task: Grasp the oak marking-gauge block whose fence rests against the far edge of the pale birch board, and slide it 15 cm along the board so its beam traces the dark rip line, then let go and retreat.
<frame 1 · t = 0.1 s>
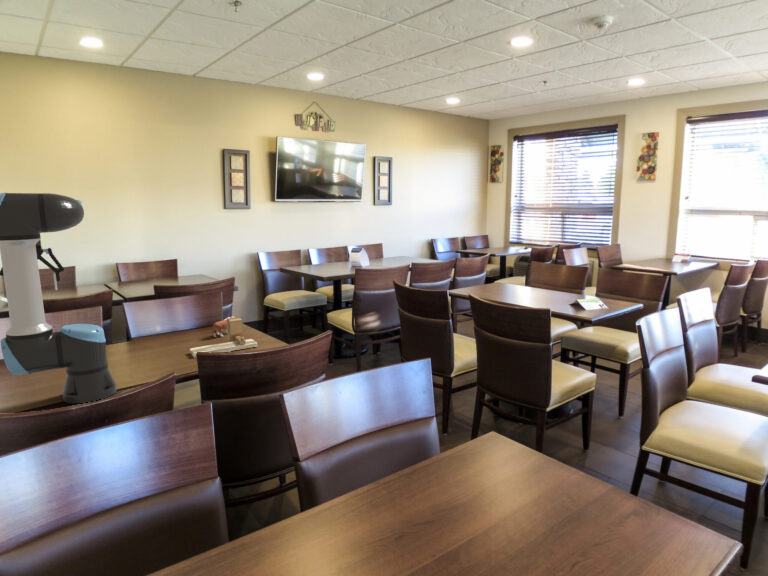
hand: (35, 291, 190), 28 cm above the table, fingers open, 13 cm apart
bull figurine: (225, 335, 232), on the table
board: (224, 350, 209), on the table
gauge: (235, 343, 218), on the table
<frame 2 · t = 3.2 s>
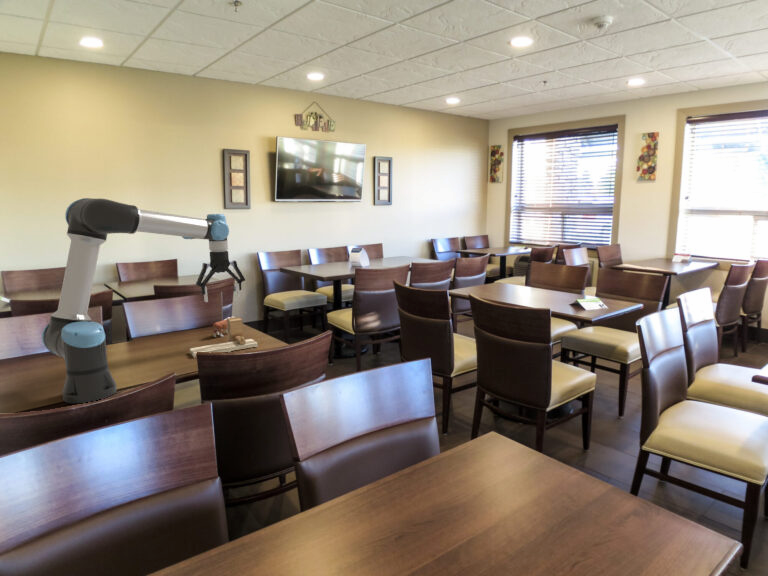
hand: (222, 299, 214), 20 cm above the table, fingers open, 13 cm apart
nothing on the table moved.
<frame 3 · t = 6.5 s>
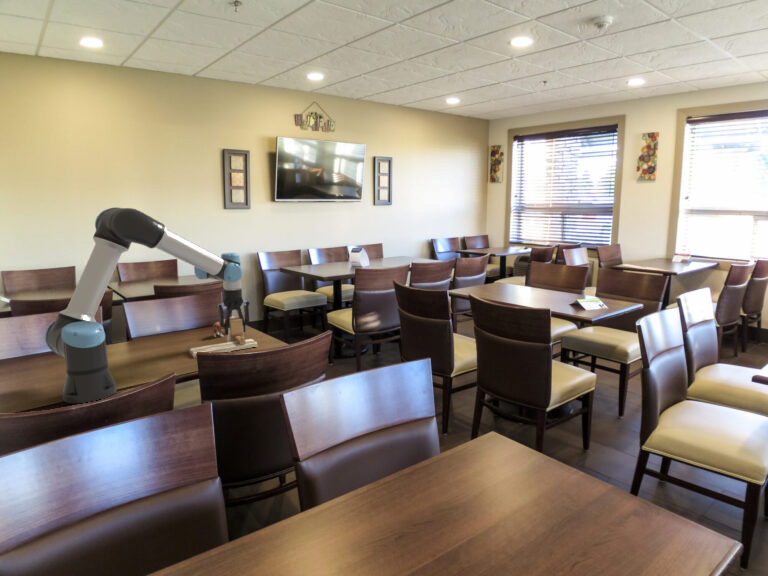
hand: (235, 340, 218), 1 cm above the table, fingers closed on gauge, 5 cm apart
gauge: (235, 343, 218), on the table, touching gripper
everything else where it was.
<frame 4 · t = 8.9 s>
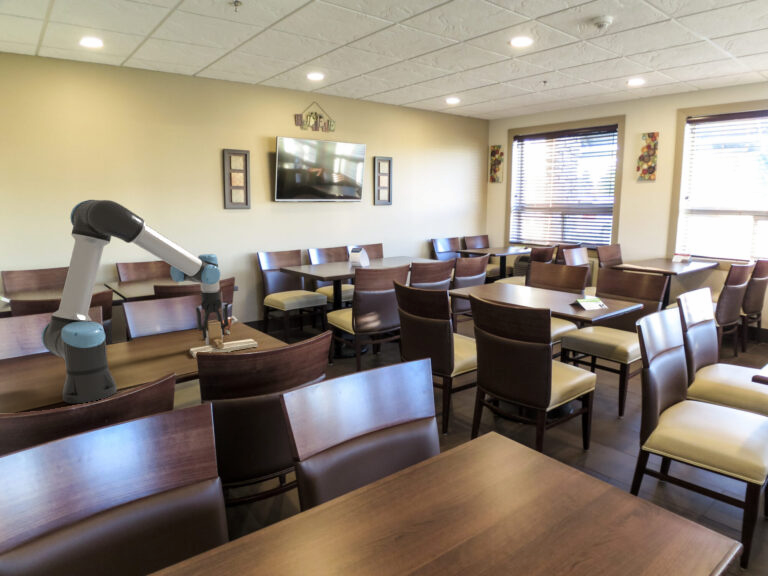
hand: (214, 343, 213), 1 cm above the table, fingers closed on gauge, 5 cm apart
gauge: (214, 346, 213), on the table, touching gripper
everything else where it was.
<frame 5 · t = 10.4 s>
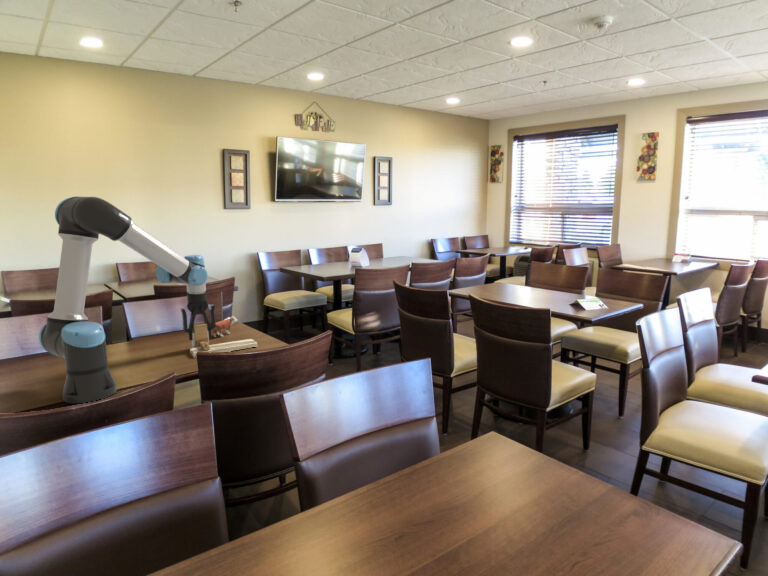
hand: (200, 345, 210), 1 cm above the table, fingers closed on gauge, 5 cm apart
gauge: (201, 348, 210), on the table, touching gripper
everything else where it was.
when the fingers open (1 cm above the table, at t = 11.3 s): gauge stays where it is, on the table.
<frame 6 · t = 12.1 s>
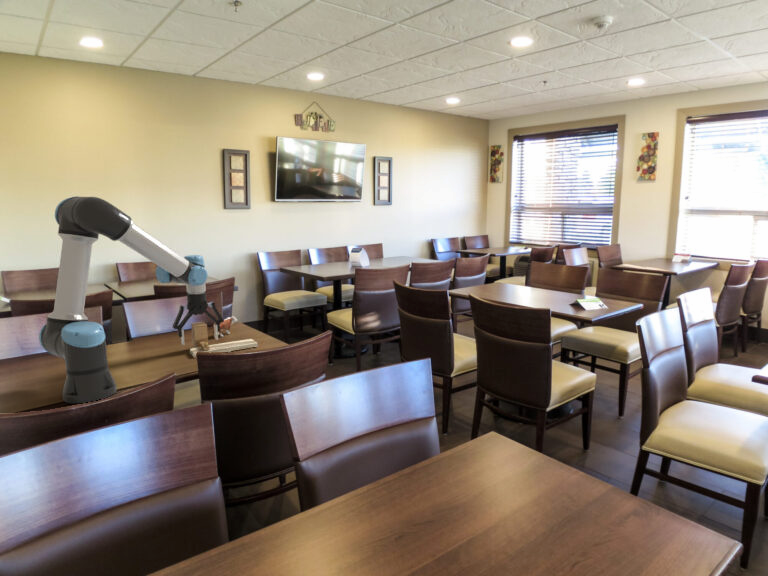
hand: (200, 341, 210), 3 cm above the table, fingers open, 13 cm apart
gauge: (200, 349, 210), on the table
everything else where it was.
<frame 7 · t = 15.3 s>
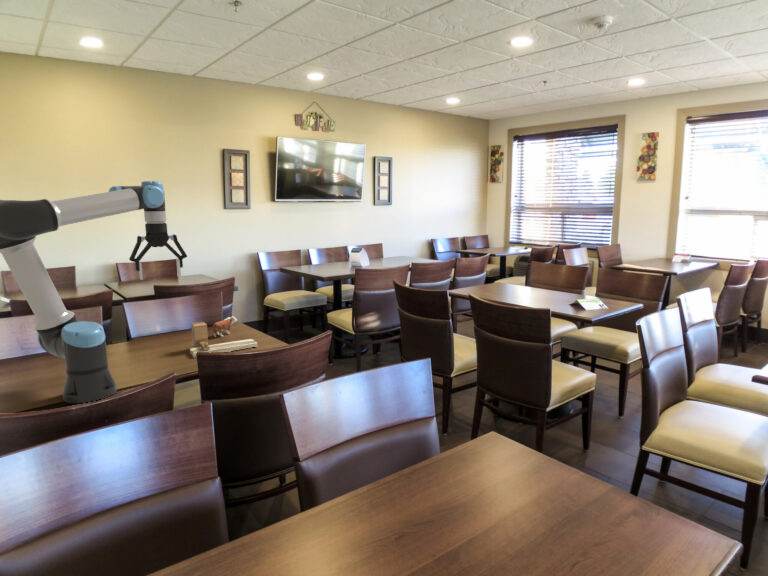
hand: (160, 277, 192), 33 cm above the table, fingers open, 13 cm apart
nothing on the table moved.
at the end: gauge 0.1 cm from the target spot, on the table; gauge tilted 0°; gauge moved 14.9 cm from its start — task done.
